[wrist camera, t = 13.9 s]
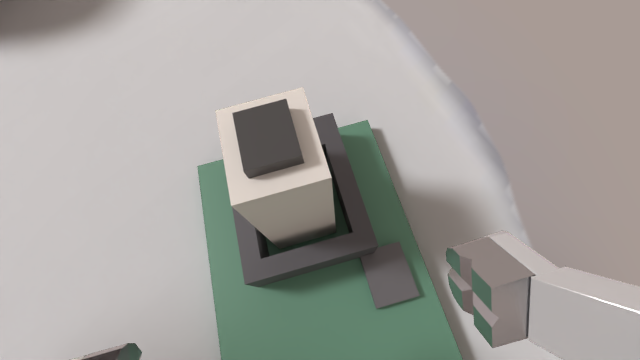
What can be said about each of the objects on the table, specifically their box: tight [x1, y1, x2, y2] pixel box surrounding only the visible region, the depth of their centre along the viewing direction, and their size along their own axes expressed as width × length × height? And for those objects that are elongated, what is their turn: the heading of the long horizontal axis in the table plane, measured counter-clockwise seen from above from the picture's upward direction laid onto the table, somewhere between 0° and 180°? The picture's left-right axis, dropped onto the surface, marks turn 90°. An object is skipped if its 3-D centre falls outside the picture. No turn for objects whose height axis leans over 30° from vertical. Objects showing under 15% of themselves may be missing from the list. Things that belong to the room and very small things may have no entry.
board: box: [198, 113, 463, 360], centre depth 16 cm, size 20×12×4 cm, turn 15°
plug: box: [215, 87, 336, 249], centre depth 15 cm, size 5×4×9 cm
